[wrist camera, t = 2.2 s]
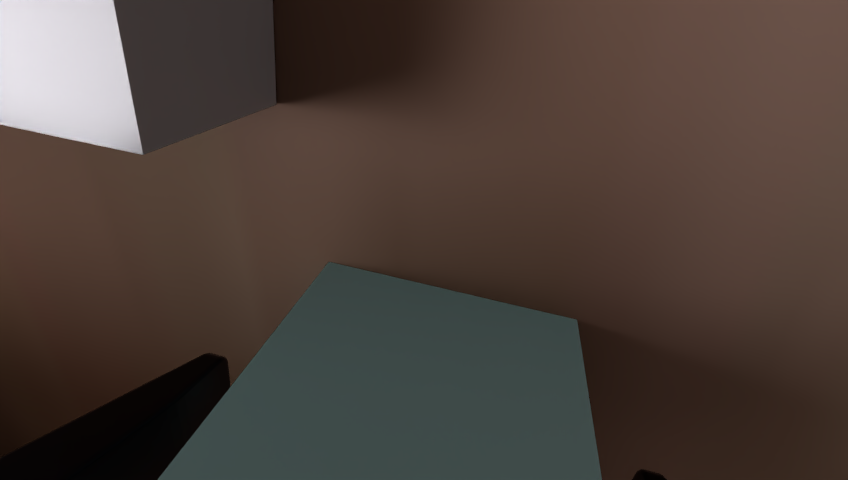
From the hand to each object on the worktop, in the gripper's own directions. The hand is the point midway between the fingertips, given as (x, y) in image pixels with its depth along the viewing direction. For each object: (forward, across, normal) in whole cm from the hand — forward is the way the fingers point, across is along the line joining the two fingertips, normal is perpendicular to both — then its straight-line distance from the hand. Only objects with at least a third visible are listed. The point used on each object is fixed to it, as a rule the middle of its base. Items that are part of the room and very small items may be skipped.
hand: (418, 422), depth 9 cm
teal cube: (+1, 0, 0) cm, 1 cm away
